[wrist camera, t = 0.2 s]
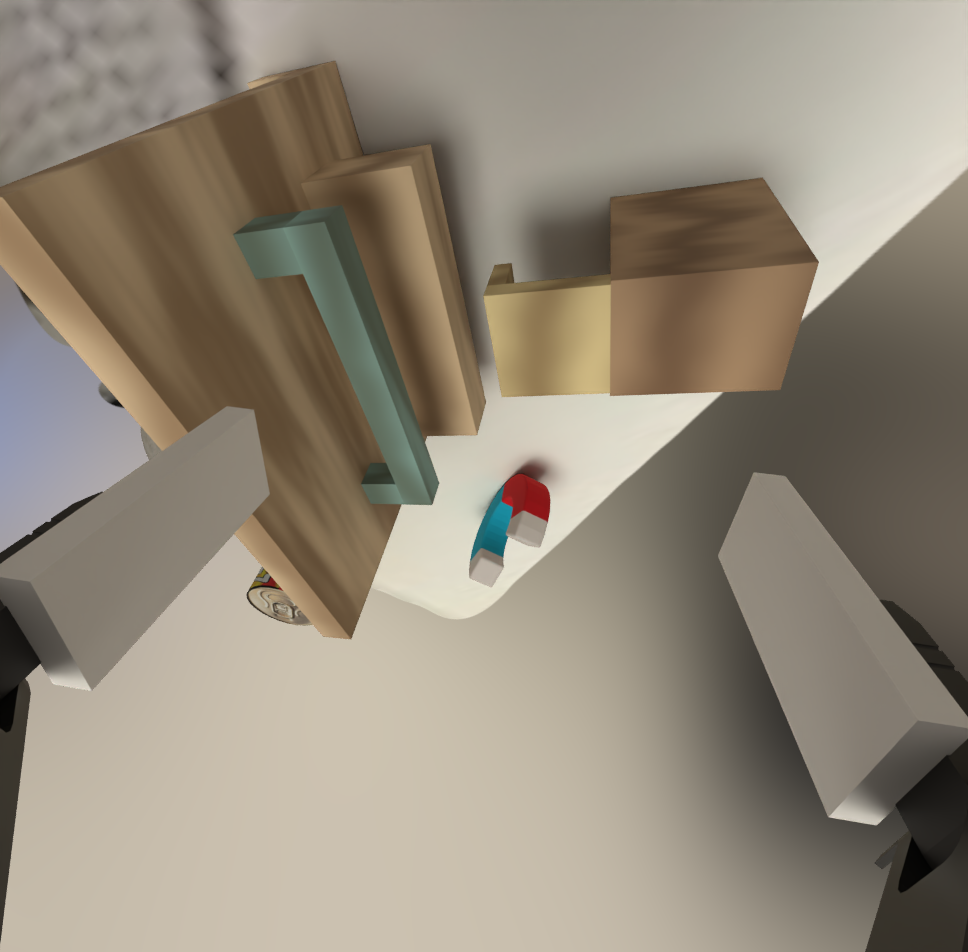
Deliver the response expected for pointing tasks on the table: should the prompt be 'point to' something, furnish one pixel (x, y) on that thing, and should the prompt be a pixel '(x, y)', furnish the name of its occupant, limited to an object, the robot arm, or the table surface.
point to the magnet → (509, 525)
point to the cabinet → (663, 301)
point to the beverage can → (274, 600)
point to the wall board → (267, 311)
